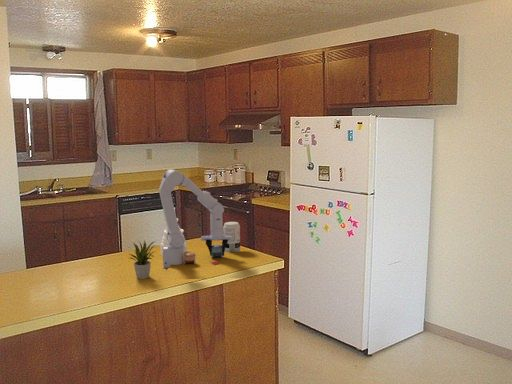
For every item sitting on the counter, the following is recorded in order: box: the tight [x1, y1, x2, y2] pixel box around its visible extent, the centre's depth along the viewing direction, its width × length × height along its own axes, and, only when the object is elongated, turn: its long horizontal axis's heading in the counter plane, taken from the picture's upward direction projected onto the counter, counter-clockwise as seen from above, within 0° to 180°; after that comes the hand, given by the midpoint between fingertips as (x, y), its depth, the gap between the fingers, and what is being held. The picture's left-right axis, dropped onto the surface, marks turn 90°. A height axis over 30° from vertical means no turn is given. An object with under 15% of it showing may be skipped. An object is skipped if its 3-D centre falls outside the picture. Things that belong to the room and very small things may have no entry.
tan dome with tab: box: [183, 252, 197, 265], centre depth 223 cm, size 5×5×6 cm
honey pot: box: [160, 217, 188, 257], centre depth 244 cm, size 13×13×18 cm
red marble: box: [211, 259, 219, 265], centre depth 223 cm, size 3×3×3 cm
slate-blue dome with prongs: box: [211, 244, 223, 259], centre depth 232 cm, size 5×5×6 cm
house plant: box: [125, 240, 157, 280], centre depth 209 cm, size 14×14×16 cm
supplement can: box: [223, 221, 241, 253], centre depth 245 cm, size 8×8×15 cm
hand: (217, 255), depth 233 cm, fingers closed on slate-blue dome with prongs, 5 cm apart
